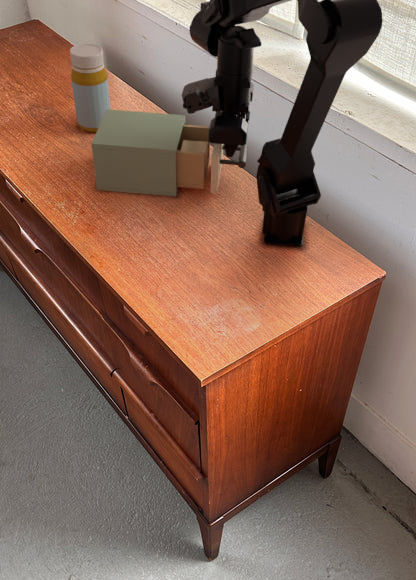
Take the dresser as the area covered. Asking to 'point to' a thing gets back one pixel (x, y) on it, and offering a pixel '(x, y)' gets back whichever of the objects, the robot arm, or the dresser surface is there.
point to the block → (196, 148)
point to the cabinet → (137, 152)
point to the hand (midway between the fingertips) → (229, 156)
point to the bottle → (89, 86)
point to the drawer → (202, 160)
